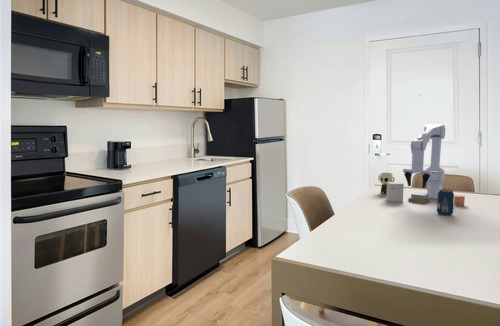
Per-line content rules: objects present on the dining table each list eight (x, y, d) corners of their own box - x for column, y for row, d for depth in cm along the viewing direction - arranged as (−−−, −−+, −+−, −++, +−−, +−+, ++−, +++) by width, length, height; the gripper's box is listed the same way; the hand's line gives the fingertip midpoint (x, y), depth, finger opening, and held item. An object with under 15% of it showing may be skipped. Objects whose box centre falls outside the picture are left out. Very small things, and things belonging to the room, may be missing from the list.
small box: (400, 199, 209) (400, 182, 207) (403, 201, 203) (404, 183, 202) (386, 199, 209) (386, 181, 208) (388, 201, 204) (389, 183, 203)
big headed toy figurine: (374, 193, 229) (375, 173, 228) (380, 191, 234) (381, 172, 232) (390, 195, 221) (391, 174, 219) (396, 194, 225) (397, 173, 224)
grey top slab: (415, 196, 209) (415, 192, 208) (428, 198, 204) (428, 193, 203) (411, 198, 204) (411, 194, 203) (423, 200, 199) (424, 195, 198)
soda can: (447, 212, 178) (448, 189, 177) (456, 216, 171) (457, 191, 170) (433, 212, 178) (435, 189, 176) (441, 216, 171) (443, 191, 170)
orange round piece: (455, 203, 197) (455, 195, 197) (465, 205, 194) (465, 196, 193) (452, 205, 194) (453, 196, 194) (462, 206, 191) (463, 197, 190)
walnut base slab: (414, 200, 210) (414, 195, 210) (430, 202, 204) (430, 198, 204) (408, 202, 204) (408, 198, 204) (424, 205, 198) (424, 200, 197)
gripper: (401, 161, 195) (400, 186, 196) (429, 163, 184) (427, 189, 186) (406, 160, 200) (405, 184, 201) (433, 162, 189) (432, 187, 191)
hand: (416, 186), depth 194 cm, fingers open, 7 cm apart
